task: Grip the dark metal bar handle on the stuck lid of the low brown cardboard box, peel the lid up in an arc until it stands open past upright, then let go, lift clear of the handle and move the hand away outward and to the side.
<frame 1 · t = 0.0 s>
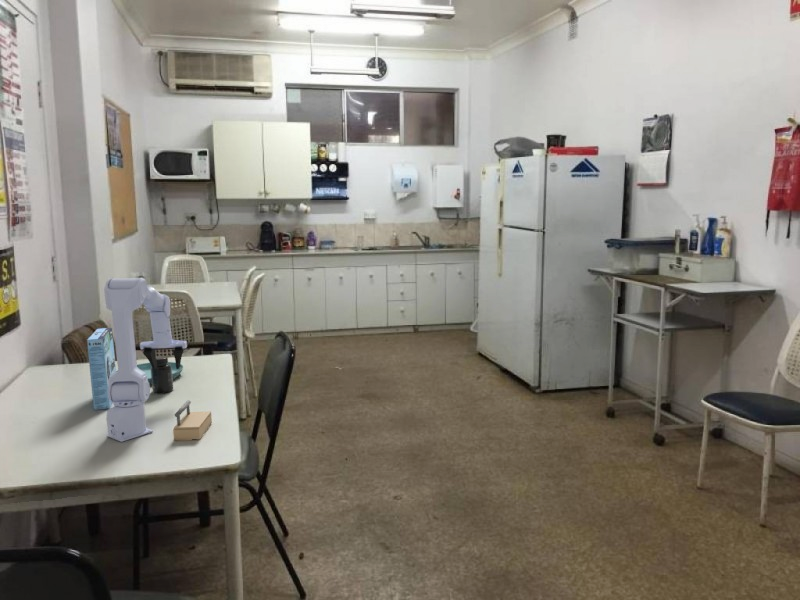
hand: (166, 368, 201), 11 cm above the table, tool pointing down, fingers open, 7 cm apart
lid: (192, 413, 171), point 5 cm above the table, hinge at 0.0°
gum box: (106, 401, 202), on the table
supplement bottle: (163, 391, 211), on the table
saucer: (150, 378, 229), on the table
carton: (193, 431, 172), on the table
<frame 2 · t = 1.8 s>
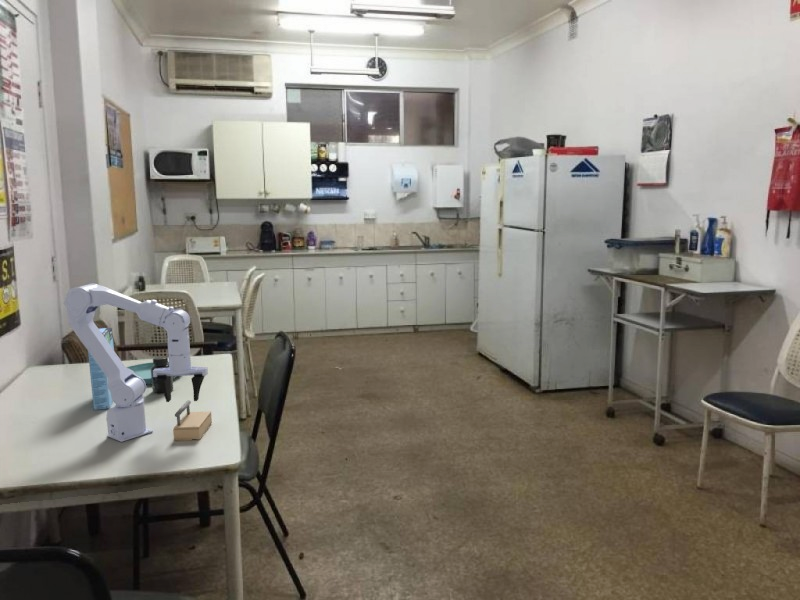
hand: (182, 400, 171), 9 cm above the table, tool pointing down, fingers open, 7 cm apart
nothing on the table moved.
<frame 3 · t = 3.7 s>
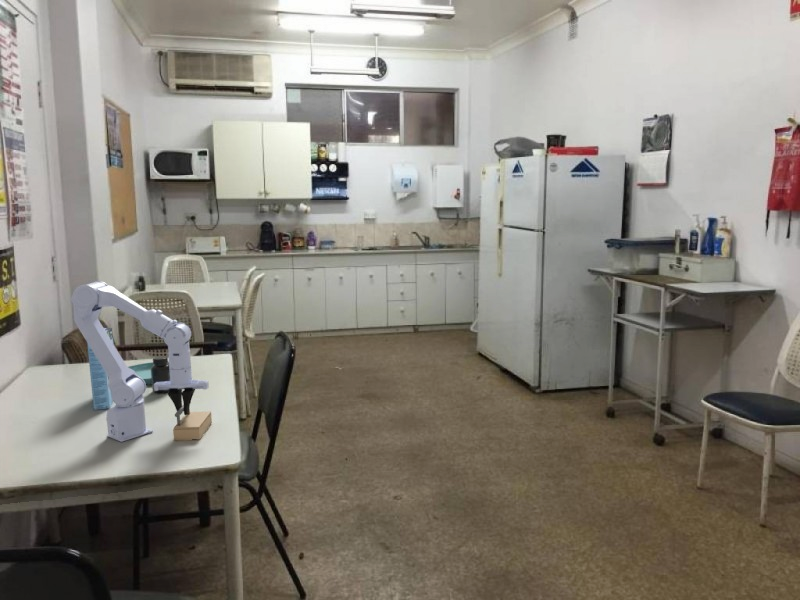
hand: (183, 413, 171), 5 cm above the table, tool pointing down, fingers closed on lid
lid: (192, 413, 171), point 5 cm above the table, hinge at 0.0°, touching gripper
everything else where it was.
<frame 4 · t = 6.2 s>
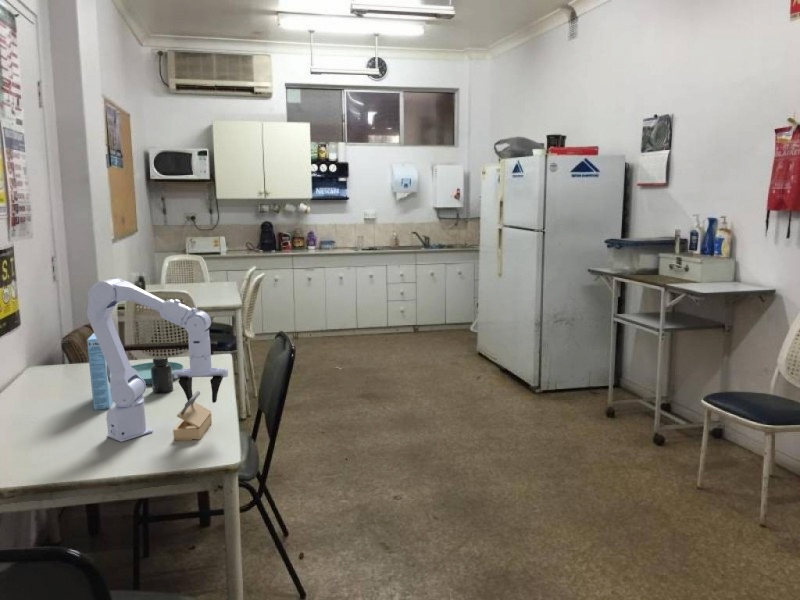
hand: (202, 401, 171), 9 cm above the table, tool pointing down, fingers open, 6 cm apart
lid: (198, 408, 171), point 7 cm above the table, hinge at 33.1°, touching gripper
everything else where it was.
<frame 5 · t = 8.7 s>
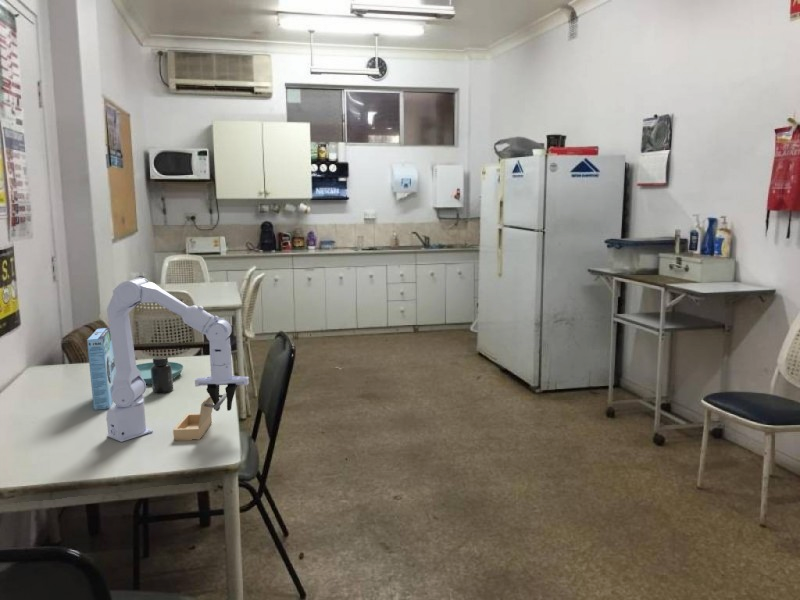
hand: (223, 409, 172), 6 cm above the table, tool pointing down, fingers open, 3 cm apart
lid: (213, 409, 172), point 6 cm above the table, hinge at 100.9°, touching gripper
everything else where it was.
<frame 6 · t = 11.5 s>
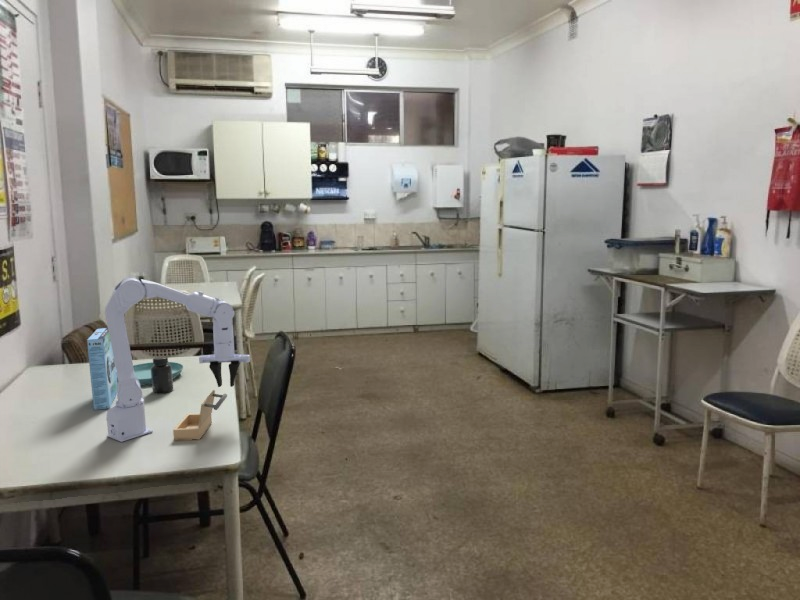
hand: (226, 385, 181), 10 cm above the table, tool pointing down, fingers open, 3 cm apart
lid: (213, 409, 172), point 6 cm above the table, hinge at 101.0°
everything else where it was.
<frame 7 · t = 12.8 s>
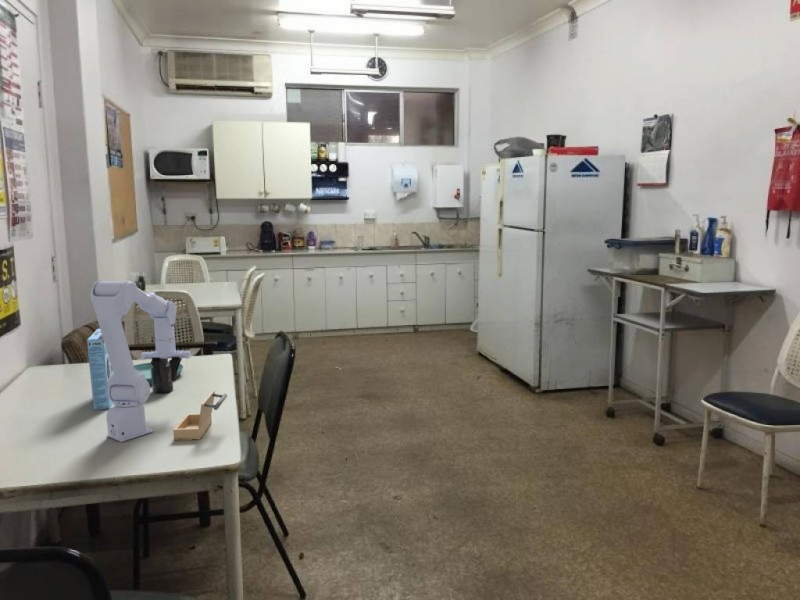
hand: (168, 380, 190), 9 cm above the table, tool pointing down, fingers open, 3 cm apart
nothing on the table moved.
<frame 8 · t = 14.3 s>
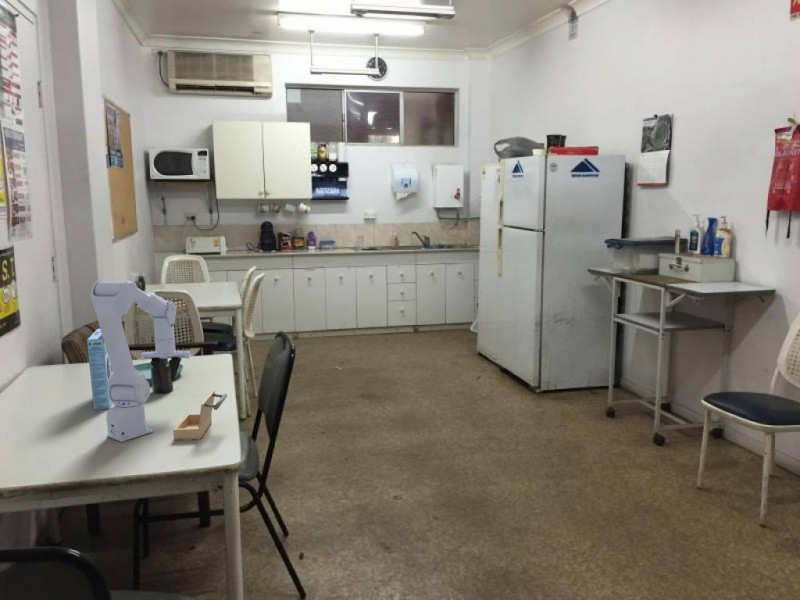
hand: (167, 380, 190), 9 cm above the table, tool pointing down, fingers open, 3 cm apart
nothing on the table moved.
at the end: lid at +101° (first picture: +0°); the gripper is holding nothing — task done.
